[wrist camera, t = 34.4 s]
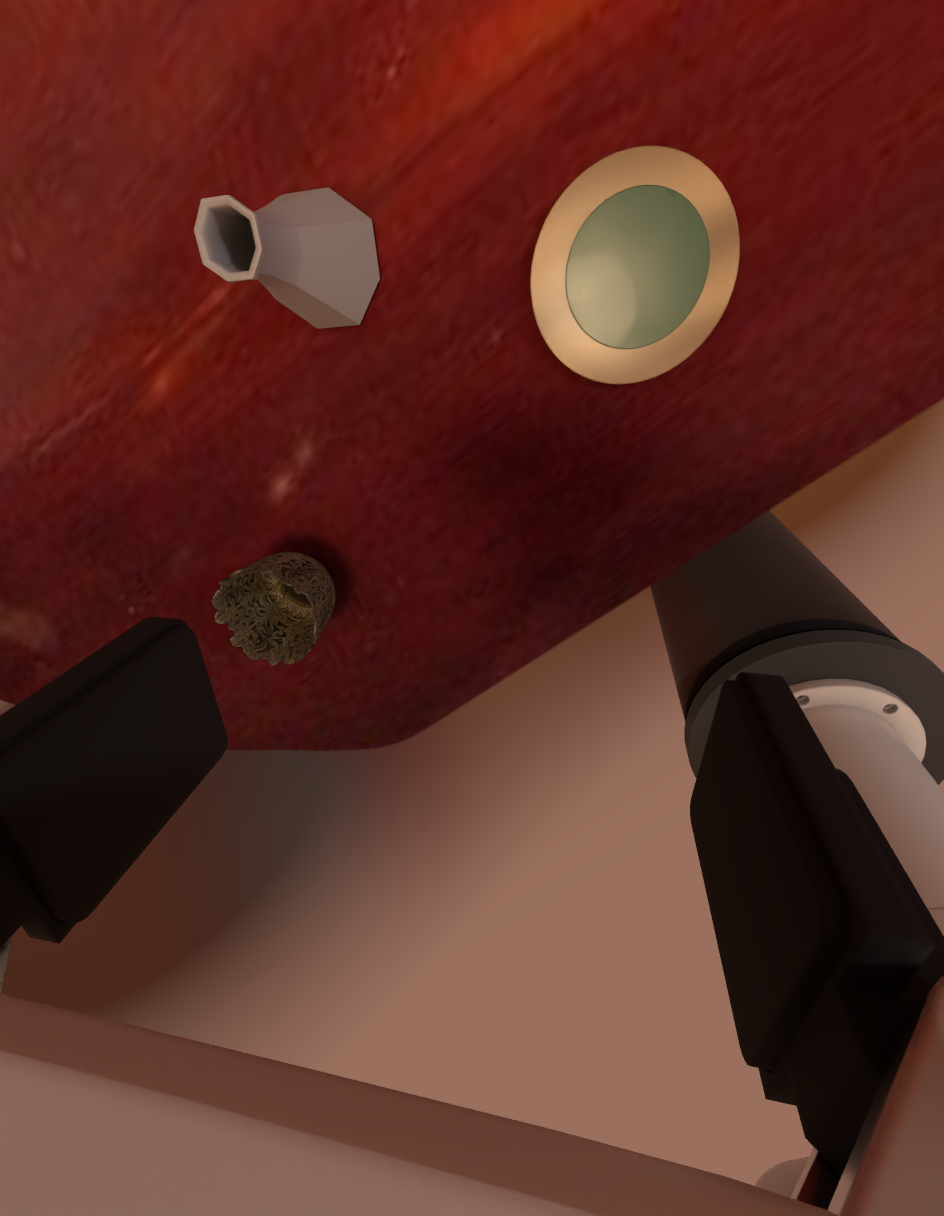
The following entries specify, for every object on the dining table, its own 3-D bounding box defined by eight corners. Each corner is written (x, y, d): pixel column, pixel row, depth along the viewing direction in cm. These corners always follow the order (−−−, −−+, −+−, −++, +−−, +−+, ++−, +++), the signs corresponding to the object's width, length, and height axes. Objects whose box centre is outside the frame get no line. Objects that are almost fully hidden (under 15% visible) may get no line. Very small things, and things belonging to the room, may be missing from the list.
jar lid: (543, 247, 29) (541, 243, 27) (672, 156, 26) (678, 145, 24) (598, 372, 31) (599, 375, 29) (722, 300, 28) (730, 299, 27)
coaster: (765, 315, 29) (768, 315, 28) (581, 418, 33) (581, 419, 32) (693, 90, 25) (696, 86, 24) (496, 238, 29) (495, 236, 29)
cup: (374, 600, 42) (333, 654, 35) (300, 621, 45) (249, 675, 38) (331, 516, 39) (278, 558, 32) (255, 543, 42) (191, 587, 35)
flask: (390, 205, 29) (312, 156, 21) (373, 344, 33) (299, 351, 24) (270, 171, 30) (143, 109, 21) (266, 313, 33) (156, 309, 25)
